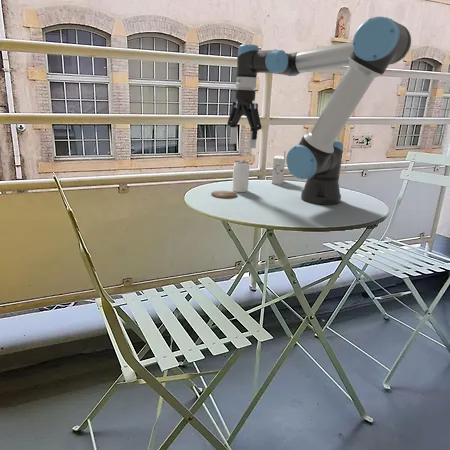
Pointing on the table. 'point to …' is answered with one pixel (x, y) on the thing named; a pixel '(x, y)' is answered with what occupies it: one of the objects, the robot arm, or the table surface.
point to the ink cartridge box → (278, 169)
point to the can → (240, 176)
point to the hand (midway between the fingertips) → (242, 145)
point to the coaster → (224, 194)
